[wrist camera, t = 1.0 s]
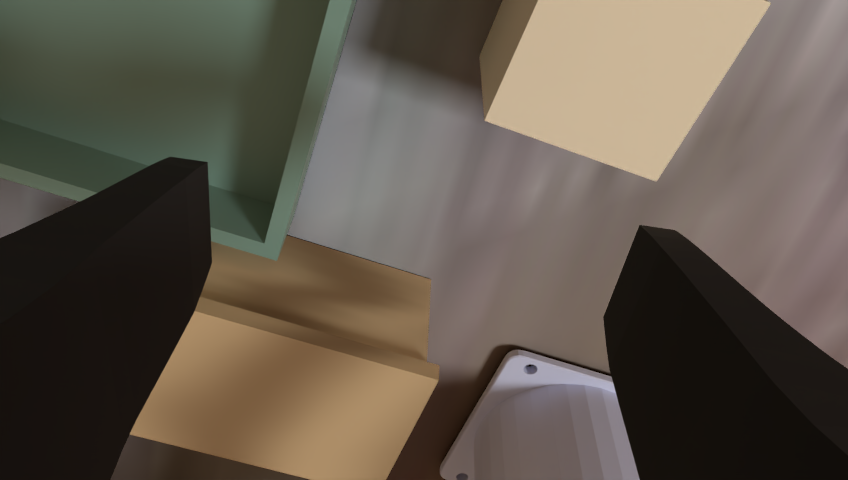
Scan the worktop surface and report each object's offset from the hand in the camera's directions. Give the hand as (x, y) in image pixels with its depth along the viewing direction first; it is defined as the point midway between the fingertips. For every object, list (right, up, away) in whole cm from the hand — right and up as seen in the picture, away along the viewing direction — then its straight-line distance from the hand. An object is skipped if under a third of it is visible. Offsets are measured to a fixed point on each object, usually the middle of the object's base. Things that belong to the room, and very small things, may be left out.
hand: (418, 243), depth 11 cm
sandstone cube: (+5, +6, +7) cm, 11 cm away
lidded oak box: (-5, -2, +13) cm, 14 cm away
